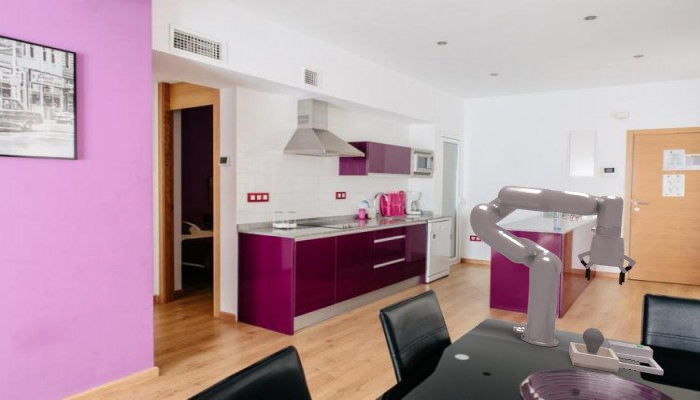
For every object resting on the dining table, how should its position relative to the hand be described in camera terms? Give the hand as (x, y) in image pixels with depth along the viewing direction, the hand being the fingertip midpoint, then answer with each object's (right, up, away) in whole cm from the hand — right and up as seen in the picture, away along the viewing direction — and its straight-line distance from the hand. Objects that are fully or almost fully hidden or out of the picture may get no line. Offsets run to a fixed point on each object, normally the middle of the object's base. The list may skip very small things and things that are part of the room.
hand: (604, 282), depth 157 cm
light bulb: (-10, -23, -10) cm, 27 cm away
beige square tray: (-9, -24, -10) cm, 28 cm away
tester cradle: (+6, -25, -7) cm, 27 cm away
